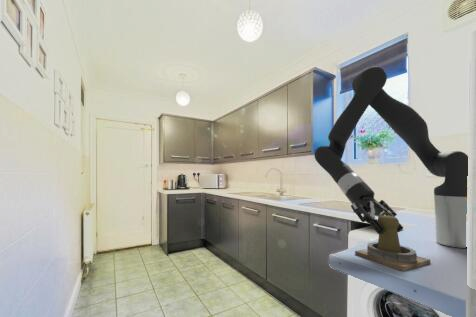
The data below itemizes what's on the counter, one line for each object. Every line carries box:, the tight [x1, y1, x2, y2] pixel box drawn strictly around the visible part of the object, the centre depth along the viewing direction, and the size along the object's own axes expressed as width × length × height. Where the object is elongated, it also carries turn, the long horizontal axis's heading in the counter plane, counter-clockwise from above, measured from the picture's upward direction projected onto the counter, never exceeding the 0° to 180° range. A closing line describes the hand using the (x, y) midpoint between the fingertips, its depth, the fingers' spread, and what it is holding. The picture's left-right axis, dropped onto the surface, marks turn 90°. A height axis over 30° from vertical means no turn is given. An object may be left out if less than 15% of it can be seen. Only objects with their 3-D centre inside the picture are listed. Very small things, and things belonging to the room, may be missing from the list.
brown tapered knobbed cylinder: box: [377, 215, 401, 253], centre depth 65 cm, size 6×6×11 cm
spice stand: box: [354, 241, 431, 272], centre depth 65 cm, size 13×13×3 cm
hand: (391, 231), depth 65 cm, fingers open, 8 cm apart
